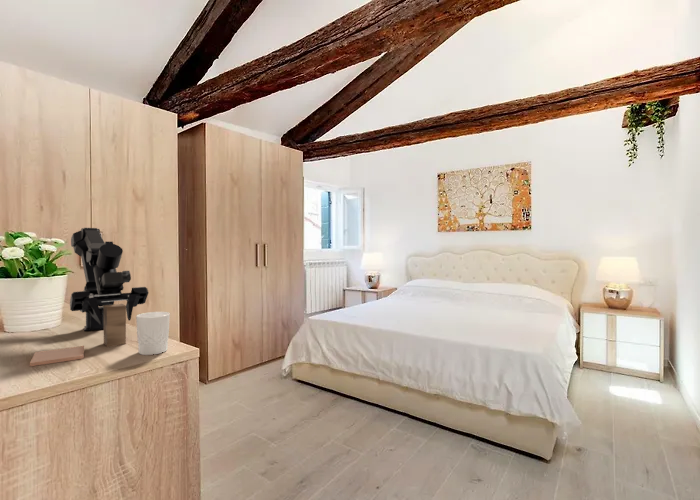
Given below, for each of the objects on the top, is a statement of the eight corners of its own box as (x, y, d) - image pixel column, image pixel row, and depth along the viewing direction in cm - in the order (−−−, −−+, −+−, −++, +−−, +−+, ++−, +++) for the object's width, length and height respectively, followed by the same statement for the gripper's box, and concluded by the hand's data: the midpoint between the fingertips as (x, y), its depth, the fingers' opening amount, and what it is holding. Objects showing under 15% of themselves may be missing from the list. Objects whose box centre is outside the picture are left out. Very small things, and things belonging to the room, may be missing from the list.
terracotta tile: (35, 355, 90) (35, 351, 90) (84, 348, 96) (84, 345, 96) (29, 366, 82) (29, 363, 82) (83, 358, 88) (83, 355, 88)
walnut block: (103, 343, 101) (103, 305, 101) (121, 340, 104) (121, 303, 104) (107, 346, 98) (107, 307, 98) (125, 343, 101) (125, 305, 101)
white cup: (144, 358, 89) (144, 318, 89) (131, 352, 94) (131, 314, 94) (175, 350, 95) (175, 314, 95) (161, 345, 100) (161, 310, 100)
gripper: (71, 262, 97) (78, 308, 89) (146, 261, 110) (158, 300, 102) (67, 288, 102) (73, 333, 95) (139, 283, 116) (149, 322, 108)
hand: (115, 321), depth 100 cm, fingers open, 7 cm apart
